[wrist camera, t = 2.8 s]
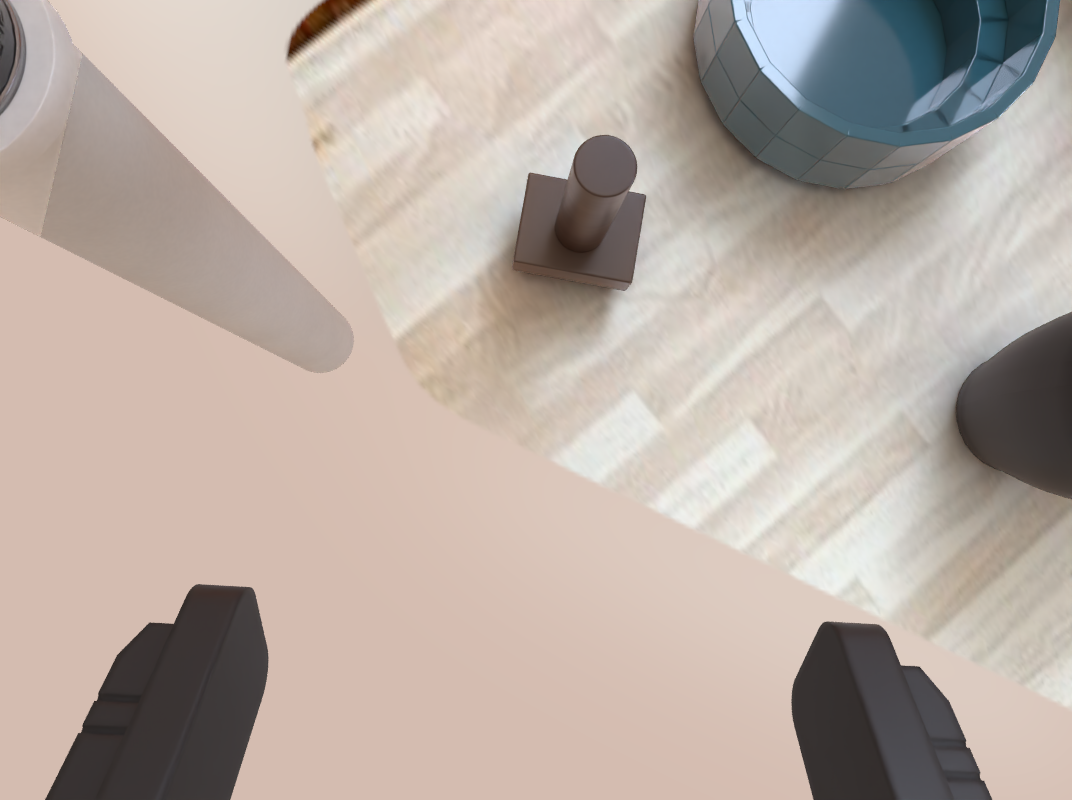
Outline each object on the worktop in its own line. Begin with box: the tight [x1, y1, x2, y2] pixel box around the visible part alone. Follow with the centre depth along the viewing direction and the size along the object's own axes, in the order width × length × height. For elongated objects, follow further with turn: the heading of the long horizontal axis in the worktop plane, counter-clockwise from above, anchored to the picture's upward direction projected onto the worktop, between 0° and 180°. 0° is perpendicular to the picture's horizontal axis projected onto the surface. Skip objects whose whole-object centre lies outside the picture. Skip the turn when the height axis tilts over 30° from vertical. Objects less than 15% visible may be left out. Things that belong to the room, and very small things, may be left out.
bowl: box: [693, 0, 1060, 189], centre depth 36 cm, size 14×14×6 cm
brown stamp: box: [512, 135, 646, 291], centre depth 32 cm, size 5×4×10 cm
